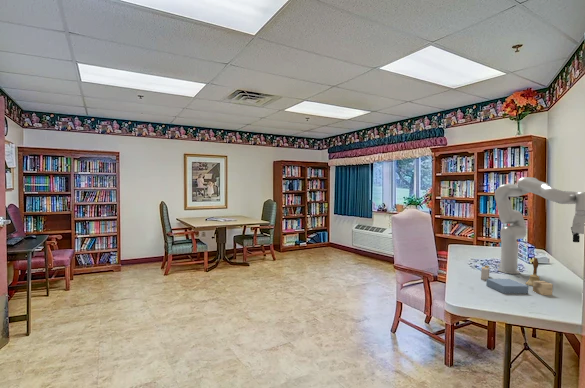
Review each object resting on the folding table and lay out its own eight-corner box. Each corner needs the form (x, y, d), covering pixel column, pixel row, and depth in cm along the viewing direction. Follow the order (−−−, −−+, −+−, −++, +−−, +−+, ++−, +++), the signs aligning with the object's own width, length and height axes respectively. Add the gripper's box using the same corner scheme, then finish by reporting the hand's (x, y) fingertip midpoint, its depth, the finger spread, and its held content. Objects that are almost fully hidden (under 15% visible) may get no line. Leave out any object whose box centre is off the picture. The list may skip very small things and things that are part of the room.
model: (481, 279, 202) (481, 267, 202) (483, 276, 211) (483, 264, 211) (487, 280, 200) (487, 268, 200) (489, 277, 209) (489, 265, 209)
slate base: (486, 285, 189) (486, 278, 189) (509, 285, 190) (509, 278, 190) (503, 293, 175) (503, 286, 175) (528, 293, 176) (528, 286, 176)
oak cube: (532, 291, 180) (533, 280, 180) (542, 291, 181) (543, 280, 181) (541, 295, 174) (542, 284, 174) (552, 295, 175) (552, 284, 175)
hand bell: (540, 284, 195) (542, 257, 195) (544, 287, 188) (546, 260, 187) (524, 282, 199) (525, 256, 198) (527, 285, 191) (528, 258, 191)
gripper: (565, 212, 193) (564, 240, 194) (588, 214, 176) (587, 246, 176) (579, 212, 192) (578, 241, 193) (604, 215, 175) (602, 246, 176)
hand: (582, 243), depth 185 cm, fingers open, 9 cm apart
